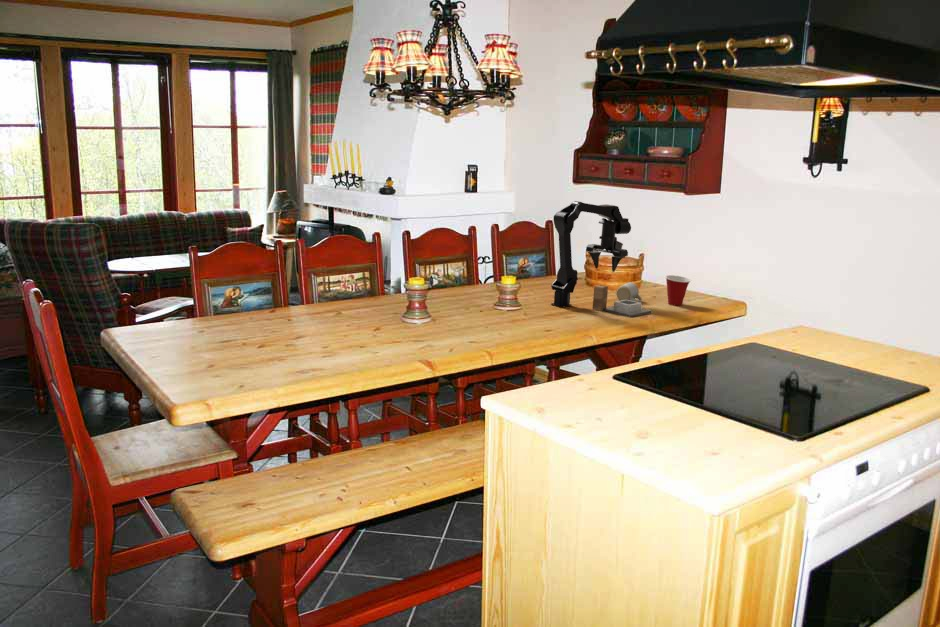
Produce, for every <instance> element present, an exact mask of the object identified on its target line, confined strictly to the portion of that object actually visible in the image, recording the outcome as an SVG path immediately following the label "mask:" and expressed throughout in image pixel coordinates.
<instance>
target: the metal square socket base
mask: <svg viewBox="0 0 940 627" xmlns="http://www.w3.org/2000/svg"><path fill="white" fill-rule="evenodd" d="M642 305H643V304H642V302H640V303H639V302H635V301H631V300H627V299H626V300H621V301H620V300H616V301H613V306H608V307H607V306H606V308H603V311H604V312H607V313H611V314H616V315H619V316H623V317H626V316H627V317H628V318H635V317H640V316H642V315H643V316H644V315H649V314H652V310H650V309H646V308H642ZM603 311H602V312H603ZM639 315H640V316H639ZM634 316H635V317H634Z"/></svg>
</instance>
